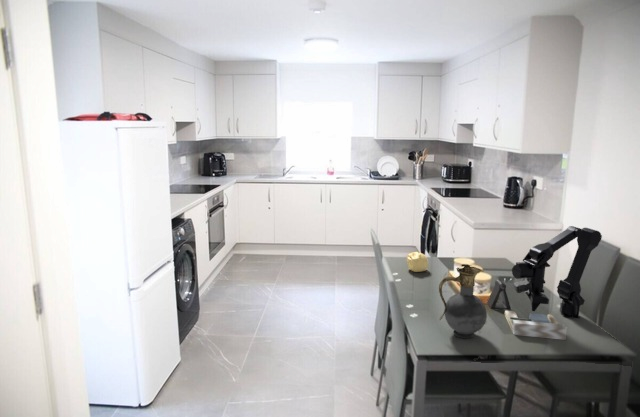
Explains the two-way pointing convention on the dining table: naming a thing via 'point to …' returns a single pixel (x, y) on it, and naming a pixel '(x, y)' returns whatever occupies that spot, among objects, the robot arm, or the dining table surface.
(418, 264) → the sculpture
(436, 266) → the dining table surface
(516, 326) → the beige grey patterned tray
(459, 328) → the pitcher
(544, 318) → the pale blue mallet
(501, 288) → the phone stand
